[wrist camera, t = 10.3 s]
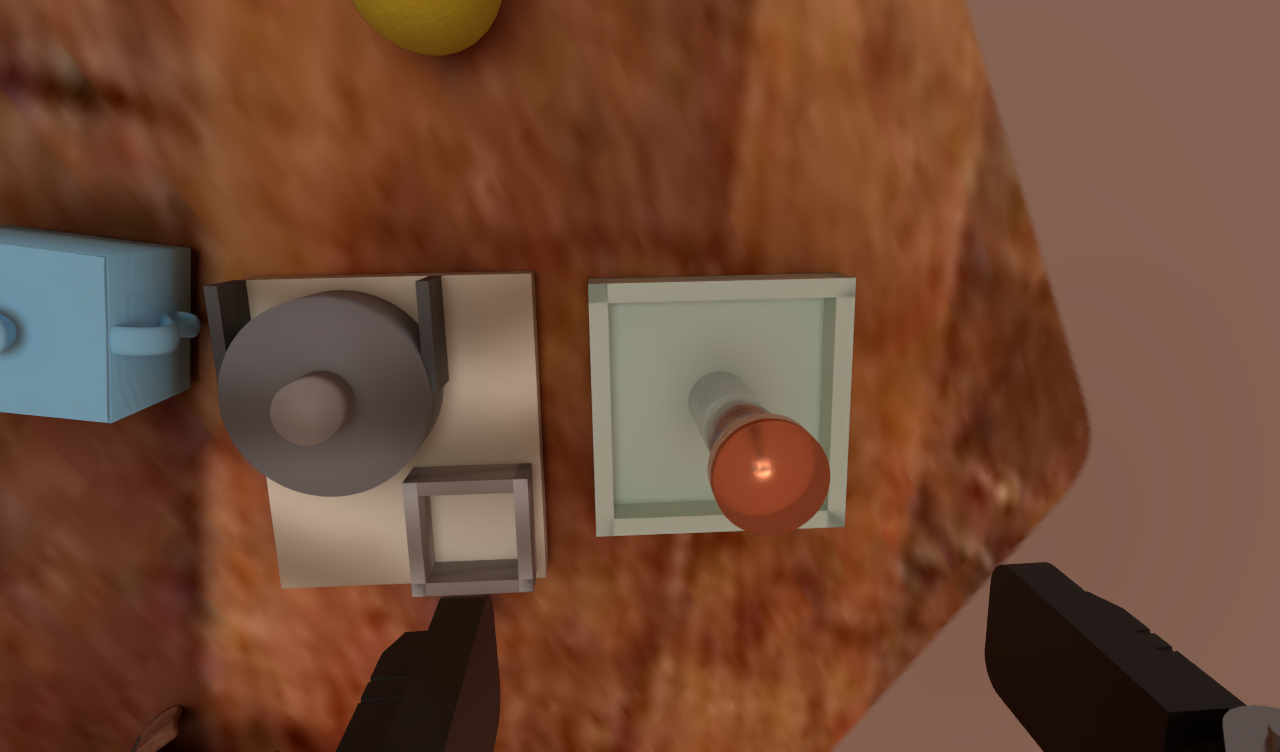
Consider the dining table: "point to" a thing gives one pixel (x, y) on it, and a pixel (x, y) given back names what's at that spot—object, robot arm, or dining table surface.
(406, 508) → the pulley board
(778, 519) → the pin
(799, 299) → the tray
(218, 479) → the dining table surface
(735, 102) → the dining table surface
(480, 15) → the lemon
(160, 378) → the teapot
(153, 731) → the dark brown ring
